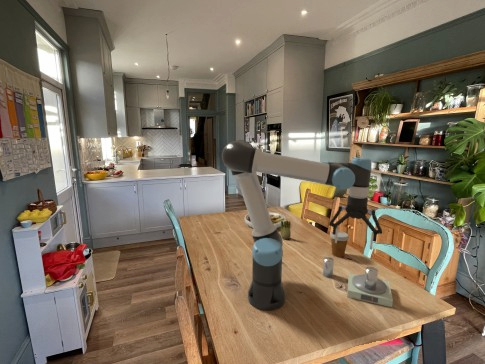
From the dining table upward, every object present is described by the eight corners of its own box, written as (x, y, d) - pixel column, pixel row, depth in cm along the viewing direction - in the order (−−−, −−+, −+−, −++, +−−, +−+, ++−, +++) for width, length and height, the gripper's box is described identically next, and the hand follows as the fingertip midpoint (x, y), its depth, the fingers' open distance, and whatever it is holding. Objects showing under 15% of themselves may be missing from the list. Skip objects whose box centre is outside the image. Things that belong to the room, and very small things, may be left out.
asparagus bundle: (279, 238, 164) (280, 220, 162) (284, 236, 167) (284, 218, 165) (287, 240, 160) (287, 222, 158) (291, 238, 163) (292, 220, 161)
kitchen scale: (392, 308, 99) (393, 298, 98) (347, 297, 105) (347, 288, 104) (388, 287, 112) (389, 279, 111) (348, 279, 118) (349, 271, 117)
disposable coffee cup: (350, 254, 142) (351, 233, 140) (343, 260, 135) (344, 239, 133) (333, 249, 148) (334, 229, 146) (325, 254, 142) (327, 234, 139)
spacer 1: (332, 278, 119) (333, 262, 117) (322, 276, 120) (323, 260, 119) (333, 273, 123) (334, 258, 121) (323, 271, 124) (324, 256, 123)
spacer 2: (376, 291, 102) (378, 273, 101) (364, 289, 104) (365, 270, 102) (375, 285, 106) (377, 267, 105) (363, 283, 108) (365, 265, 106)
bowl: (263, 214, 211) (263, 205, 210) (293, 224, 190) (294, 214, 188) (236, 223, 191) (236, 213, 190) (266, 235, 170) (266, 223, 168)
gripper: (392, 197, 103) (386, 247, 107) (327, 190, 113) (323, 236, 117) (393, 202, 96) (387, 255, 100) (324, 194, 107) (321, 242, 111)
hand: (352, 245), depth 109 cm, fingers open, 13 cm apart
